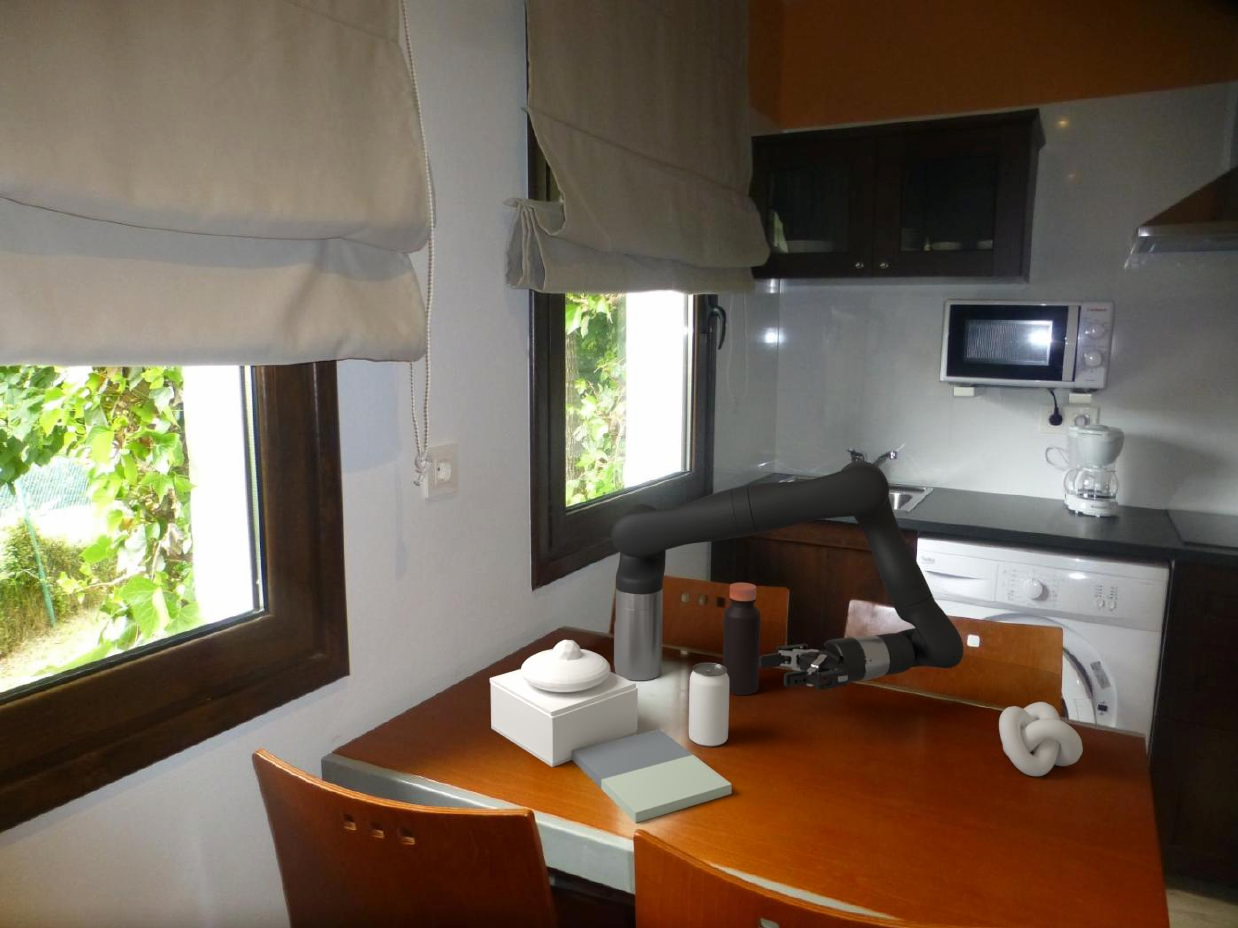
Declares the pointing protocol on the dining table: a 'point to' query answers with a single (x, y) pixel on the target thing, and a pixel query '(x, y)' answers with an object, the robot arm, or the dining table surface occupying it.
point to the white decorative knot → (1038, 738)
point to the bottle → (742, 640)
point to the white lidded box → (563, 703)
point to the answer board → (650, 774)
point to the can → (709, 704)
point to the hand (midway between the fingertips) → (772, 670)
